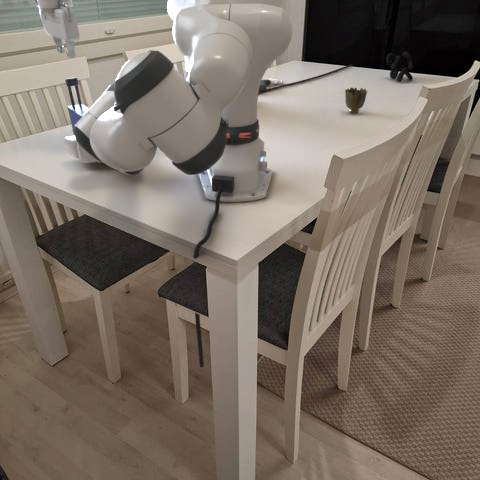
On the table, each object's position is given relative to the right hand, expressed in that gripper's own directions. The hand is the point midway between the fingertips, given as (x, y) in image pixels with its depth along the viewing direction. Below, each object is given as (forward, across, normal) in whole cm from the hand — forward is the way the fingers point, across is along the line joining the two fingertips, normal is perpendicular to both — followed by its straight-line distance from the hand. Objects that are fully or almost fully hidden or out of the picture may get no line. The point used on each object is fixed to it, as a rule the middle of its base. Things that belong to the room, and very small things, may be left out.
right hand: (93, 131), depth 130 cm
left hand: (+11, 0, -20) cm, 23 cm away
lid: (+6, 0, -4) cm, 7 cm away
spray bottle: (+27, -83, +5) cm, 87 cm away
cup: (-23, -86, +5) cm, 89 cm away
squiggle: (-1, -141, +5) cm, 141 cm away
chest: (+5, 0, +5) cm, 7 cm away
